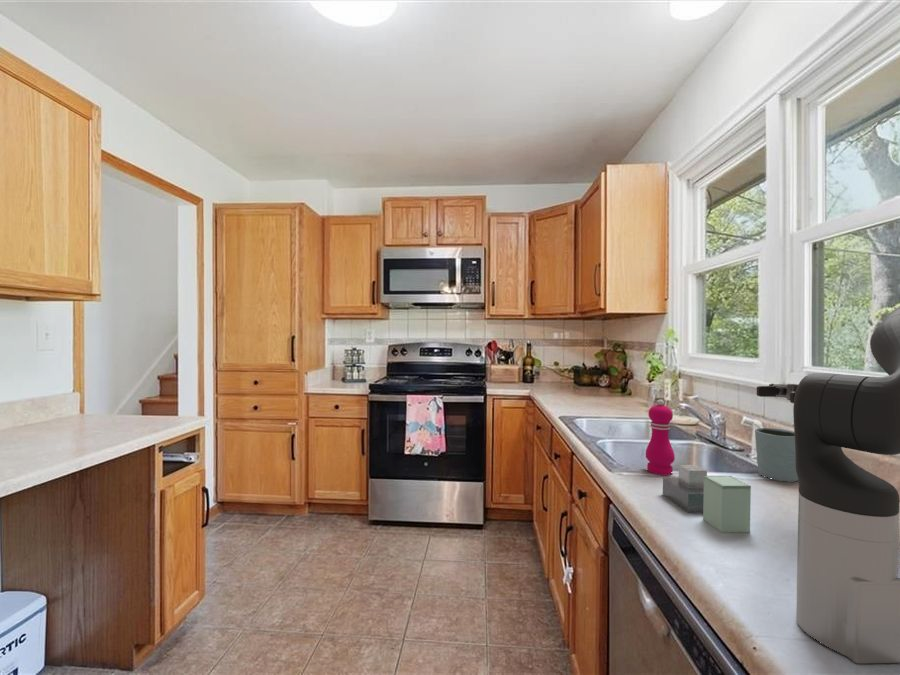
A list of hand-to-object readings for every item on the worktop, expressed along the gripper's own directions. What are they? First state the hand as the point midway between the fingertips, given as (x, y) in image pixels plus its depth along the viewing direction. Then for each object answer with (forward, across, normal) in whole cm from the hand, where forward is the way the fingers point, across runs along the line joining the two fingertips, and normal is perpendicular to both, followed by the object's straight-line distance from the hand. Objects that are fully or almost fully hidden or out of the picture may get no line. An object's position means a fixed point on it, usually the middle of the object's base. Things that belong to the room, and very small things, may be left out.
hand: (773, 394), depth 85 cm
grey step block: (+11, -9, +26) cm, 30 cm away
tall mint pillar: (+11, +2, +26) cm, 28 cm away
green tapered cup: (-23, -26, +26) cm, 43 cm away
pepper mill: (+7, -30, +26) cm, 40 cm away
